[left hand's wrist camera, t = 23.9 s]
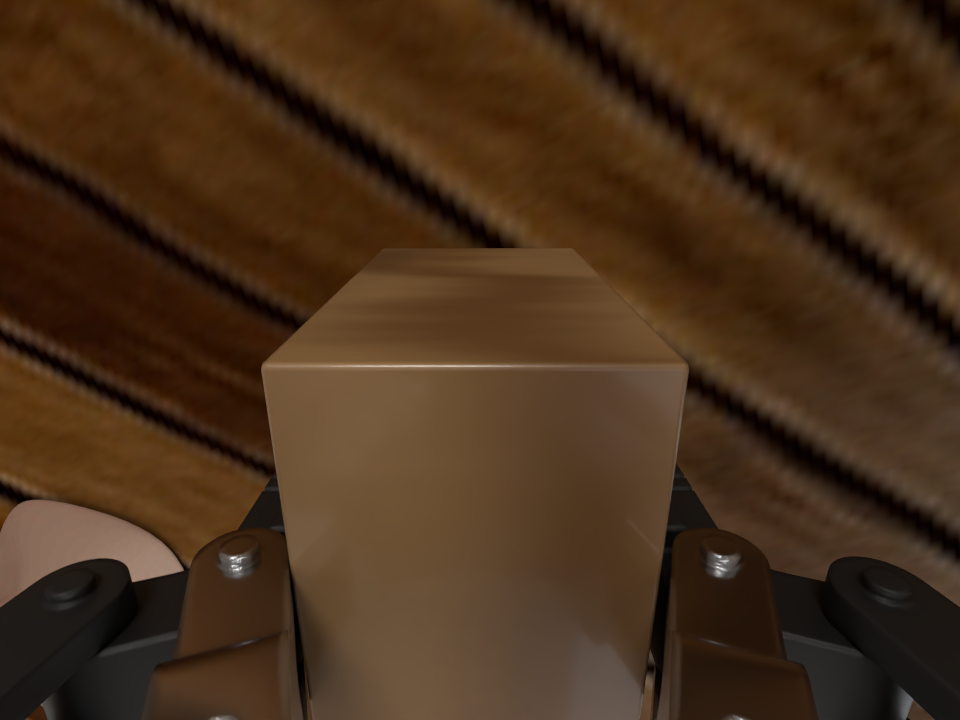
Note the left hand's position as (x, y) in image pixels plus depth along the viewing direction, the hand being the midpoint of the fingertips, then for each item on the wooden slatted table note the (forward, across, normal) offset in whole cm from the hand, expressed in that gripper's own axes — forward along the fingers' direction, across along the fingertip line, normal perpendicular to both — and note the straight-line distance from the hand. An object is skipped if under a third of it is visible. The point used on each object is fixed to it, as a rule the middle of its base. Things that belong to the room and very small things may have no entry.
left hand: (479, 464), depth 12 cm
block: (+4, 0, 0) cm, 4 cm away
